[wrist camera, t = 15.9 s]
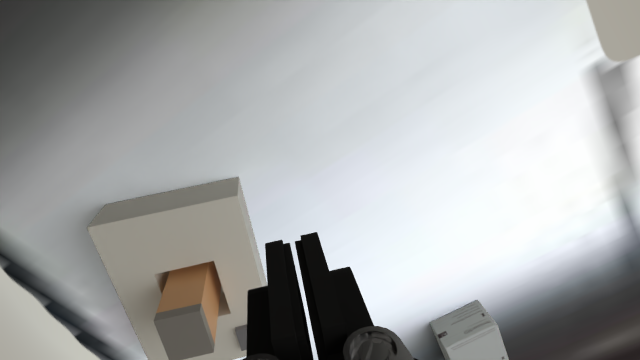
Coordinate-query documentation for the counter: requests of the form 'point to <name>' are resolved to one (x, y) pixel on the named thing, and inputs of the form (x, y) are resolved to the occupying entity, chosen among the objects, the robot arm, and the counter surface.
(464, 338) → the small box
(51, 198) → the counter surface
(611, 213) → the counter surface
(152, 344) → the socket plate
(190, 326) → the two-tone square block
